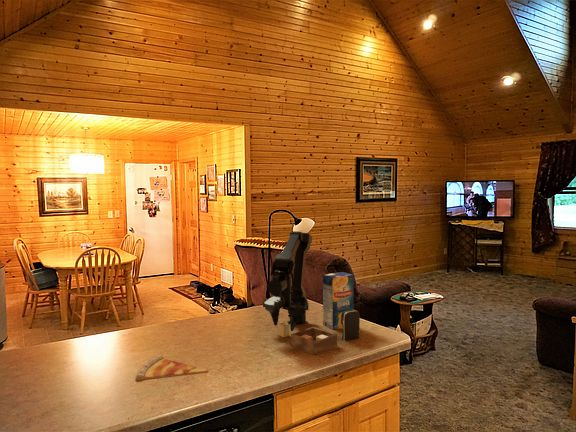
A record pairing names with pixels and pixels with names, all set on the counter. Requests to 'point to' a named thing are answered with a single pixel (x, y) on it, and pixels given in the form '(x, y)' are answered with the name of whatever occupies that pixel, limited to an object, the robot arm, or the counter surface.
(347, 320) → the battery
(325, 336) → the cream block
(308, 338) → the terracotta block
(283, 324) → the lid
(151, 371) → the pizza slice
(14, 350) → the counter surface
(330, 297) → the beverage box
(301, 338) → the box
